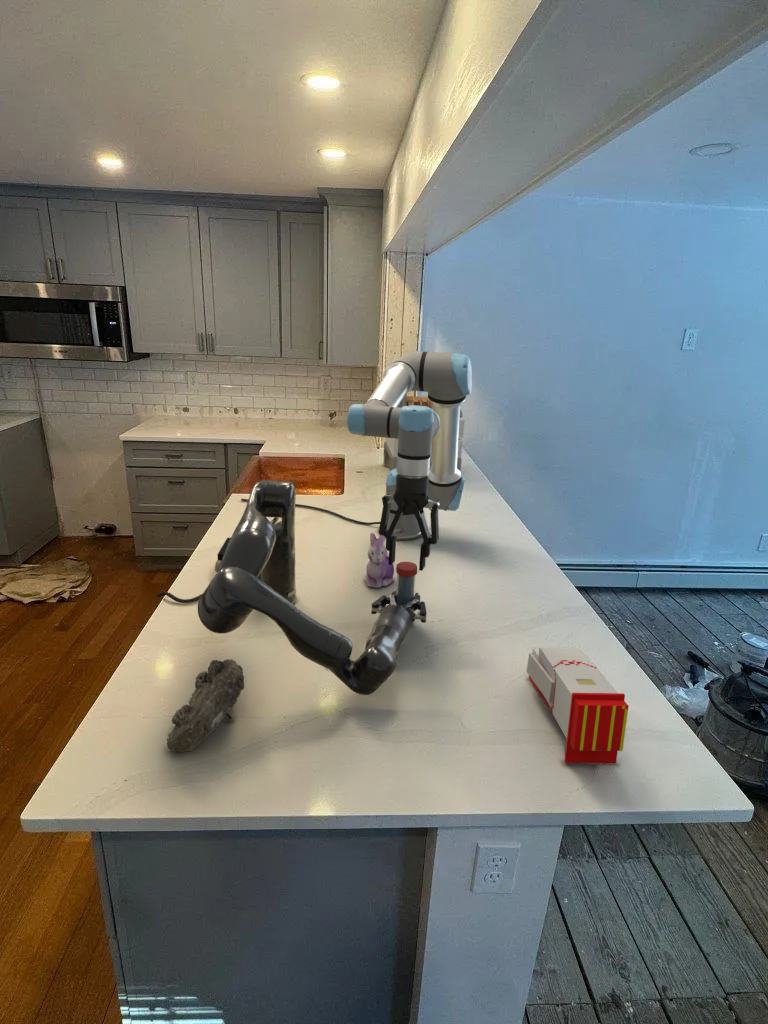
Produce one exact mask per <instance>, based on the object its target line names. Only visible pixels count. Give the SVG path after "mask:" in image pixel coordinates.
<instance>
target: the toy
mask: <svg viewBox="0 0 768 1024" xmlns="http://www.w3.org/2000/svg"><path fill="white" fill-rule="evenodd" d="M526 673H527V674H528V675H529V676H528V679H529V680H530V682H531V683H532V685H533V686H534V688H535V689H536V691H537V692H538V694H539V695H540V697H541V698H542V700H543V701H544V703H545V704H546V706H547V708H548V710H550V712H551V713H552V715H553V718H554V719H555V721H556V722H557V724H558V726H559V728H560V729H561V731H562V733H563V735H564V736H565V738H566V743H565V744H566V745H565V752H564V763H565V764H602V765H603V764H606V765H607V764H611V765H613V764H614V765H616V764H617V761H618V760H617V759H618V753H619V752H623V750H624V744H625V735H626V728H627V721H628V714H629V713H628V712H629V705H628V704H627V702H626V701H625V699H626V694H625V693H621V692H620V693H618V692H617V690H616V689H615V687H613V685H612V683H610V682H609V680H608V679H607V678H606V677H605V676H604V675H603V673H602V672H601V671H600V669H598V668H597V665H595V664H594V662H593V661H592V660H591V659H590V658H589V657H588V655H587V654H586V653H585V652H584V650H583V649H582V648H581V647H570V646H567V647H565V646H539V647H532V652H529V653H528V658H527V665H526Z"/></svg>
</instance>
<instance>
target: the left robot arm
mask: <svg viewBox="0 0 768 1024" xmlns="http://www.w3.org/2000/svg"><path fill="white" fill-rule="evenodd" d="M248 499H249V500H248V501H247V503H246V506H245V509H244V511H243V513H242V515H241V518H240V520H239V521H238V523H237V525H236V527H235V529H234V530H233V533H232V534H231V537H230V538H231V539H230V541H229V544H228V546H227V548H226V551H225V554H224V556H223V559H222V562H221V565H220V568H219V570H218V572H216V573H215V576H214V577H213V578H212V579H211V581H210V582H209V583H208V585H207V586H206V588H205V589H204V591H203V592H202V593H200V594H199V595H197V596H195V597H192V598H186V599H185V598H184V599H183V598H179V597H177V596H176V595H174V594H172V593H171V592H169V591H165V590H164V591H160V592H159V593H158V594H157V595H156V598H161V597H163V596H166V595H167V597H168V598H170V599H171V600H173V601H175V602H176V603H178V604H179V603H180V604H191V603H194V602H197V615H198V618H199V621H200V622H201V624H202V625H203V627H204V628H206V630H208V631H210V632H212V633H215V634H228V633H229V634H230V633H232V632H233V631H235V630H237V629H238V628H240V627H241V625H243V623H245V621H246V620H247V619H248V617H249V616H250V615H251V613H252V612H253V611H257V612H259V613H261V614H263V615H264V616H267V617H269V618H270V619H271V620H272V621H273V622H275V624H276V625H277V626H278V627H279V629H280V630H281V631H282V633H283V634H284V636H285V637H286V639H287V641H288V642H289V643H290V645H291V646H292V647H293V649H295V651H296V652H297V653H298V654H300V655H301V656H302V657H304V658H306V659H308V660H309V661H311V662H313V663H315V664H317V665H319V666H321V667H323V668H325V669H328V670H329V671H330V672H331V673H332V674H333V675H334V676H336V678H338V679H339V680H340V681H341V682H342V683H343V684H344V685H345V686H346V687H347V688H348V689H349V690H350V691H352V692H353V693H355V694H357V695H362V696H369V695H372V694H374V693H375V692H376V691H377V690H378V689H379V688H380V687H382V685H383V684H384V683H385V682H386V681H387V680H388V679H389V678H390V677H391V676H392V675H393V673H394V671H396V669H397V665H398V653H399V650H400V648H401V646H402V644H403V643H404V641H405V640H406V637H407V634H408V632H409V630H410V627H411V626H412V625H411V623H412V624H413V623H414V622H415V621H416V620H417V621H419V620H420V622H421V623H423V624H424V623H426V622H427V615H428V613H427V607H426V602H425V601H421V595H420V593H419V592H414V598H413V600H412V601H409V602H408V603H406V604H399V603H396V590H393V591H392V592H391V594H390V595H389V596H387V595H385V594H383V595H381V596H380V597H379V598H377V599H375V600H374V601H373V602H371V607H370V609H371V611H370V612H371V613H370V614H372V615H377V614H379V615H378V617H377V619H376V620H375V622H374V623H373V626H372V629H371V632H370V634H369V635H368V638H367V640H366V642H365V647H364V651H363V652H362V653H360V655H359V656H358V657H357V658H356V660H352V658H351V655H352V654H353V647H354V645H353V642H352V641H351V639H350V638H349V637H347V636H346V635H344V634H341V633H340V632H338V631H336V630H334V629H332V628H330V627H328V626H327V625H324V624H323V623H320V621H317V620H316V619H314V618H312V617H310V616H309V615H307V614H306V613H305V612H303V611H302V610H301V609H300V608H298V607H297V606H295V605H294V604H295V603H296V602H297V588H296V586H297V585H296V506H295V504H297V503H296V501H297V491H296V486H295V484H294V483H293V482H292V481H289V480H267V479H264V480H258V481H257V482H255V483H254V485H253V486H252V488H251V491H250V494H249V498H248ZM268 518H277V519H280V521H278V522H275V523H274V524H272V522H271V521H270V520H269V519H268ZM270 522H271V523H270ZM168 592H169V593H168ZM416 611H418V612H417V613H416ZM410 625H411V626H410Z"/></svg>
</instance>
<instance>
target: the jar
mask: <svg viewBox="0 0 768 1024" xmlns="http://www.w3.org/2000/svg"><path fill="white" fill-rule="evenodd" d="M396 574H397V573H396ZM415 587H416V575H415V576H412V577H403V576H400V575H398V574H397V576H396V589H395V591H396V603H399V604H406V603H408V602H409V601H412V600H413V598H414V595H415ZM412 625H413V622H412V623H411V625H410V627H411V626H412Z"/></svg>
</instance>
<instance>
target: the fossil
mask: <svg viewBox="0 0 768 1024" xmlns="http://www.w3.org/2000/svg"><path fill="white" fill-rule="evenodd" d="M243 670H244V669H243V667H242V665H240V664H237V662H236V661H235V660H234V659H232V658H231V659H227V658H226V659H224V660H223V661H222V660H217V659H212V660H211V661H210V663H209V665H208V666H207V671H201V672H199V673H198V674H197V675H196V676H195V680H194V684H195V685H194V687H195V689H194V690H193V693H192V694H191V697H190V698H189V700H188V704H184V705H182V706H181V707H180V709H177V710H176V711H175V713H174V715H173V716H172V718H171V723H172V724H173V727H172V730H171V731H170V732H168V734H167V738H166V741H167V742H166V745H167V749H168V750H169V751H173V752H174V753H176V754H178V753H182V752H188V751H189V752H192V751H193V750H195V748H196V747H197V746H199V744H200V743H201V742H203V741H204V740H205V739H206V738H207V737H208V736H209V735H210V734H211V733H212V732H214V730H215V729H217V727H218V726H219V724H220V722H221V721H222V720H223V719H224V718H225V716H226V717H227V719H229V720H233V717H232V715H230V714H229V710H230V709H231V708H234V706H235V704H236V703H237V702H238V699H239V697H240V695H241V693H242V691H243V690H245V689H244V688H245V675H244V671H243Z"/></svg>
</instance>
